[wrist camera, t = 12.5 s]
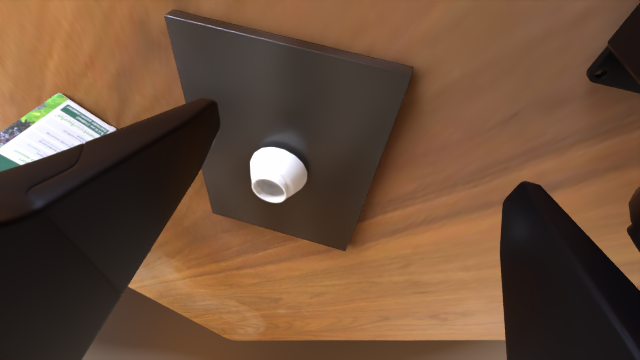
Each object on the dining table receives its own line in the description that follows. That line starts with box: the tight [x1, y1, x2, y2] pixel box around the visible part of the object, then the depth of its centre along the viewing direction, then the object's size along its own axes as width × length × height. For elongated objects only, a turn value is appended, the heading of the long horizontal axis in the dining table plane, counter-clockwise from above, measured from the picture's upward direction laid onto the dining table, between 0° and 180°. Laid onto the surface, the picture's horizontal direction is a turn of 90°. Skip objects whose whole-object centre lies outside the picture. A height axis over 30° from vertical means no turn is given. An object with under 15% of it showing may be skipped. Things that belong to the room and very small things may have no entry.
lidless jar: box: [250, 147, 307, 203], centre depth 26 cm, size 5×3×5 cm
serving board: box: [164, 10, 413, 251], centre depth 28 cm, size 16×22×1 cm
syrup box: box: [0, 93, 117, 171], centre depth 27 cm, size 6×6×14 cm
